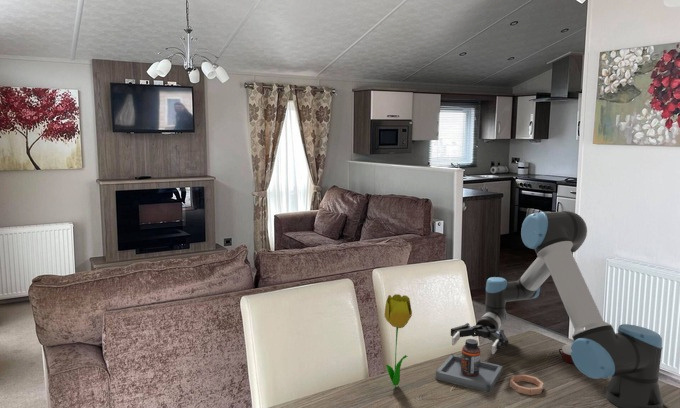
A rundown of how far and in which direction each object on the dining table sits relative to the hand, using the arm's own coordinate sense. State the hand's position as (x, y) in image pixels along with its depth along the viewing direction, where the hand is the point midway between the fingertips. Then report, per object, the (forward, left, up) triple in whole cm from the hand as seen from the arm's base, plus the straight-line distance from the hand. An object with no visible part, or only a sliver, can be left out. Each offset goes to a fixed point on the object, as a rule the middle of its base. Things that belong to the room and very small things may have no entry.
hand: (472, 345), depth 176 cm
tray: (0, +3, -9) cm, 10 cm away
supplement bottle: (0, +3, -9) cm, 9 cm away
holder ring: (-18, +1, -9) cm, 21 cm away
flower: (+18, +23, -10) cm, 31 cm away
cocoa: (-28, -27, -10) cm, 40 cm away
